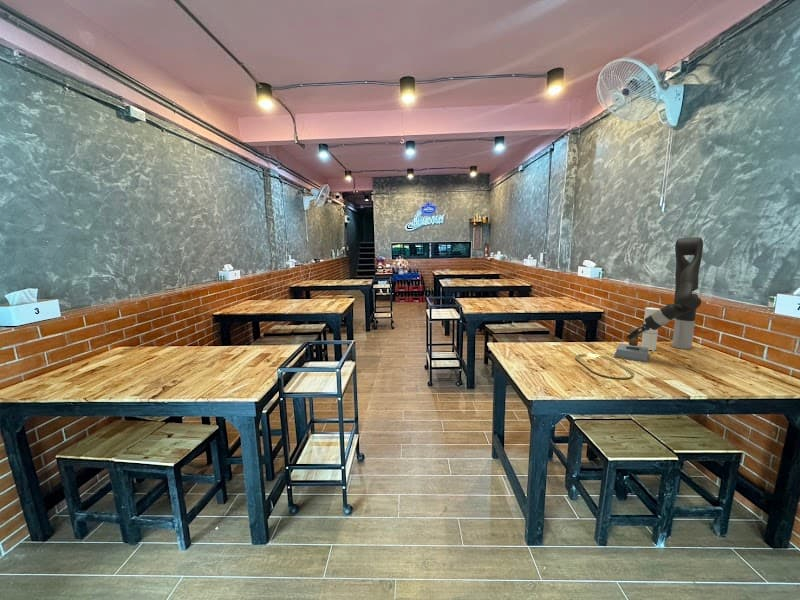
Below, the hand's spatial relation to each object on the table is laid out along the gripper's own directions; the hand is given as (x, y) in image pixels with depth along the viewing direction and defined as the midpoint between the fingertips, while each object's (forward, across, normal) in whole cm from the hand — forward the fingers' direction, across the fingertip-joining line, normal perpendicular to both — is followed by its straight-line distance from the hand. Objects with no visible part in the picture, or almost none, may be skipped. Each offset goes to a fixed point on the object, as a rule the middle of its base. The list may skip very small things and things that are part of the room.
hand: (629, 337), depth 189 cm
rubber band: (+9, +30, +7) cm, 32 cm away
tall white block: (+5, -22, +10) cm, 25 cm away
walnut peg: (+2, 0, +4) cm, 5 cm away
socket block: (+6, 0, +9) cm, 11 cm away
